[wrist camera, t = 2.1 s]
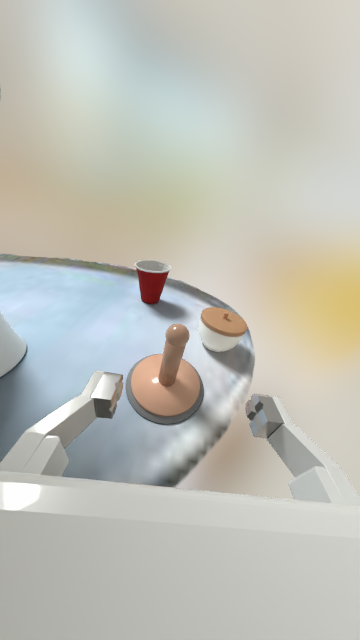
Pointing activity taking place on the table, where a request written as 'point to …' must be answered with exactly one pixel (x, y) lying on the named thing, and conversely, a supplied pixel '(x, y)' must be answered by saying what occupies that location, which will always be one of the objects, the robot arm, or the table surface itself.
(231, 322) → the lidded jar
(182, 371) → the lid
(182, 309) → the table surface
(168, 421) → the coaster
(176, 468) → the table surface
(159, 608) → the robot arm
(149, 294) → the plastic cup
